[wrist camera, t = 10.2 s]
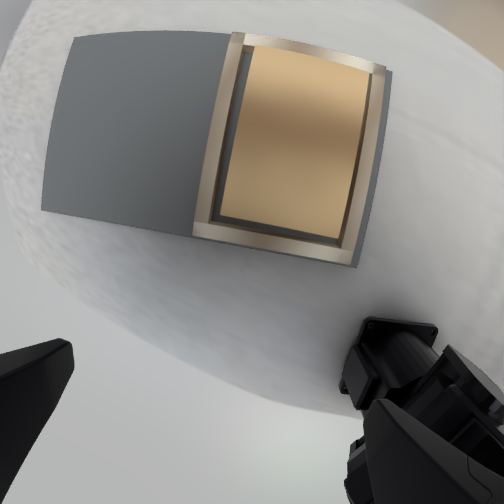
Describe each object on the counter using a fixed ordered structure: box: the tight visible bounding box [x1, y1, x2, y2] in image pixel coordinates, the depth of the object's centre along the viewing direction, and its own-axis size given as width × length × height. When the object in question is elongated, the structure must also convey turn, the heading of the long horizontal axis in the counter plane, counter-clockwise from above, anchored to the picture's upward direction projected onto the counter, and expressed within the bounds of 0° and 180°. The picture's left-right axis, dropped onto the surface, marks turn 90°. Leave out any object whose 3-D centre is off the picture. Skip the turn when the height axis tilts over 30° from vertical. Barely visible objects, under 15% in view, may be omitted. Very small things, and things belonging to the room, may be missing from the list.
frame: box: [192, 32, 386, 265], centre depth 16 cm, size 9×12×1 cm
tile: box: [220, 45, 369, 239], centre depth 16 cm, size 9×6×3 cm, turn 169°
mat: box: [41, 31, 392, 268], centre depth 17 cm, size 22×13×1 cm, turn 80°
